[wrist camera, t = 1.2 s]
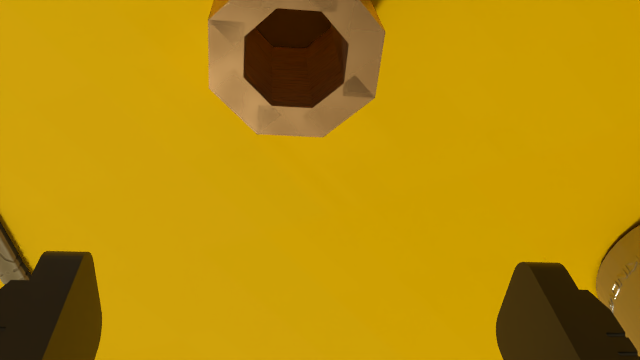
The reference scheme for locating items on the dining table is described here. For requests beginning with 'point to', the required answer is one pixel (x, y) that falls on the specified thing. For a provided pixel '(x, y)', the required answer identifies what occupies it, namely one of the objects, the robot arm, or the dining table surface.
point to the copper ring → (294, 66)
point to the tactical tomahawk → (10, 260)
